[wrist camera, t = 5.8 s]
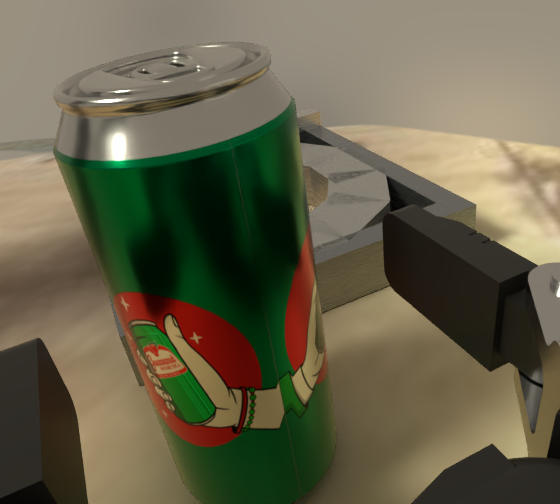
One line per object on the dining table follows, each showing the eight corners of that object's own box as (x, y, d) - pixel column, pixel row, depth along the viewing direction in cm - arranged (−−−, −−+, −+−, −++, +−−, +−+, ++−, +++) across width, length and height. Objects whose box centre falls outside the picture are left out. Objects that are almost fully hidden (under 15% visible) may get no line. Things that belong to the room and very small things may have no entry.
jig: (139, 386, 20) (111, 315, 18) (94, 223, 33) (74, 172, 31) (473, 252, 24) (477, 184, 22) (316, 155, 37) (311, 107, 35)
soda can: (282, 369, 19) (218, 31, 13) (371, 461, 16) (341, 46, 9) (158, 439, 17) (12, 80, 11) (226, 565, 14) (61, 127, 7)
